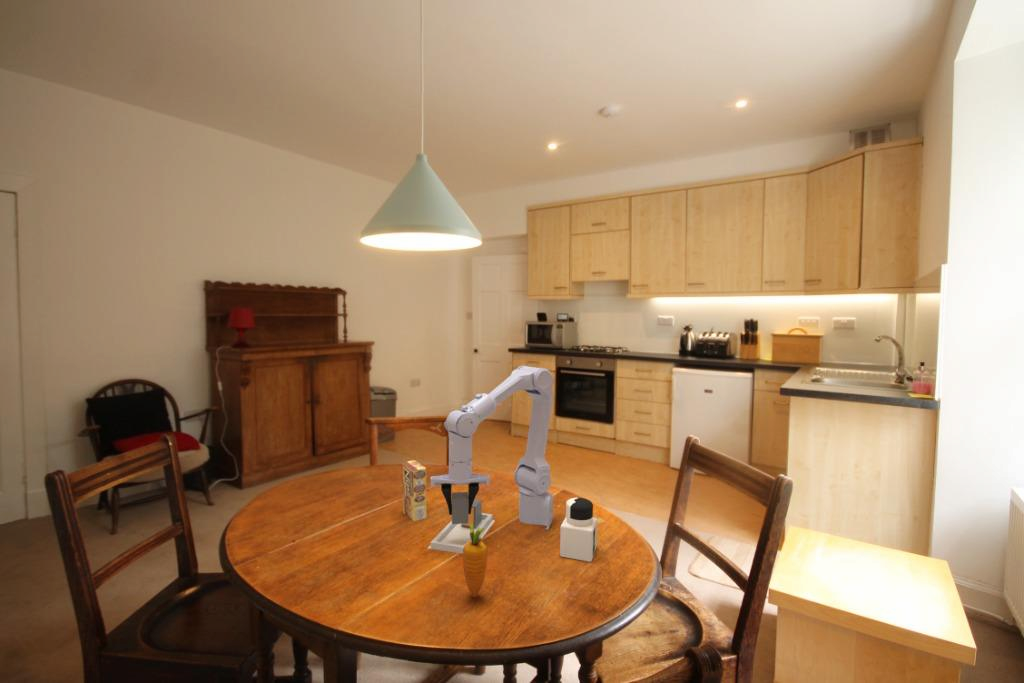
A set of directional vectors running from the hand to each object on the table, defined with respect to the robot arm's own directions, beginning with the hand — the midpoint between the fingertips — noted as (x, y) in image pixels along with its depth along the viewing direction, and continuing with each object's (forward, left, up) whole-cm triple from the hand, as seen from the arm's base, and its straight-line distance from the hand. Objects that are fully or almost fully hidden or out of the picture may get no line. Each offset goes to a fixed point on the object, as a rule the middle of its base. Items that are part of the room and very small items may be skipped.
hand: (459, 512), depth 116 cm
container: (-29, -6, -9) cm, 31 cm away
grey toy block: (+1, -11, -8) cm, 13 cm away
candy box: (+19, -12, -9) cm, 24 cm away
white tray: (+1, -5, -9) cm, 10 cm away
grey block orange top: (0, 0, -2) cm, 2 cm away
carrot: (-11, +19, -9) cm, 23 cm away
